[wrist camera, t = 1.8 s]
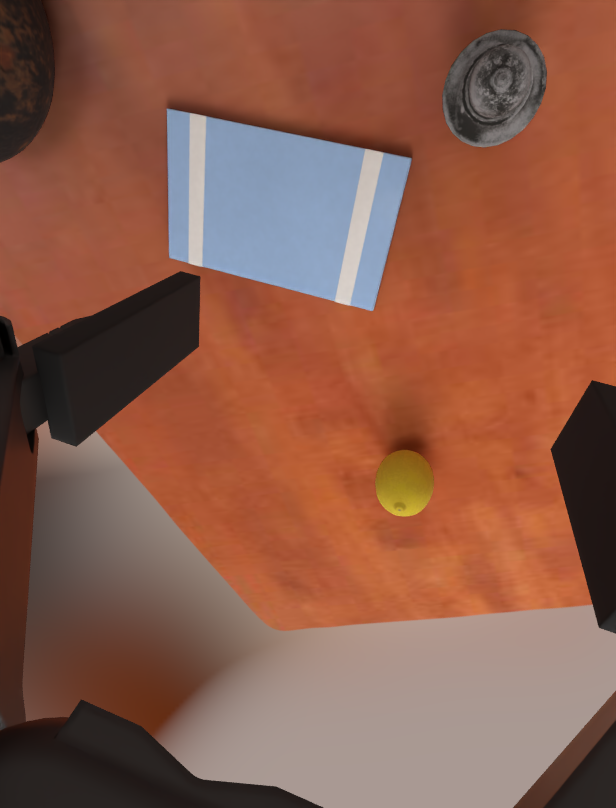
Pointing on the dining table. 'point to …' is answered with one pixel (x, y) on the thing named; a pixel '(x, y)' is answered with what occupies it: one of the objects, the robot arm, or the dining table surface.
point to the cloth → (282, 206)
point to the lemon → (404, 483)
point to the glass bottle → (24, 73)
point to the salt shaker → (494, 88)
